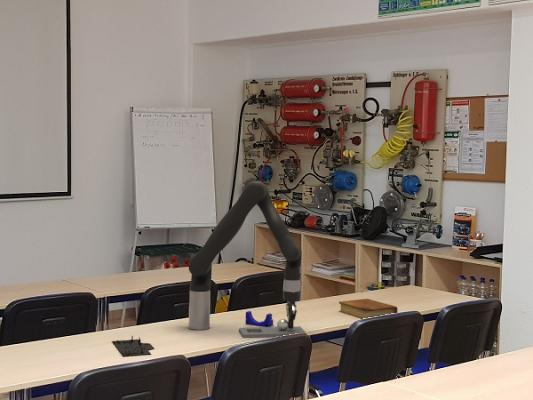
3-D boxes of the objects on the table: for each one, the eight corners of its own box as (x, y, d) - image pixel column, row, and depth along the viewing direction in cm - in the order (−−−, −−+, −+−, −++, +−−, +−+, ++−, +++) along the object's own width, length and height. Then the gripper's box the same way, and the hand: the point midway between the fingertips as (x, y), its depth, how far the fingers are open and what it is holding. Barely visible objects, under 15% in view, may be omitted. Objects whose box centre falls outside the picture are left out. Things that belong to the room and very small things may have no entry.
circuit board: (111, 343, 348) (111, 335, 348) (145, 340, 353) (145, 333, 353) (123, 358, 325) (123, 350, 324) (159, 355, 330) (159, 347, 330)
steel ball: (278, 332, 365) (278, 320, 365) (276, 329, 370) (276, 318, 370) (289, 330, 366) (289, 319, 365) (287, 328, 371) (287, 317, 370)
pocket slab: (242, 337, 359) (242, 334, 359) (238, 330, 371) (238, 327, 371) (306, 336, 363) (306, 333, 363) (300, 329, 376) (300, 326, 376)
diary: (397, 318, 407) (397, 306, 406) (366, 321, 397) (367, 309, 397) (368, 309, 426) (368, 298, 426) (338, 312, 417) (338, 301, 416)
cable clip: (273, 325, 383) (273, 313, 383) (269, 327, 379) (269, 314, 379) (249, 323, 388) (249, 310, 388) (245, 325, 384) (245, 312, 384)
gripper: (280, 286, 373) (279, 324, 375) (286, 292, 360) (285, 331, 362) (296, 286, 374) (296, 324, 376) (303, 292, 361) (302, 331, 363)
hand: (290, 328), depth 369 cm, fingers closed
